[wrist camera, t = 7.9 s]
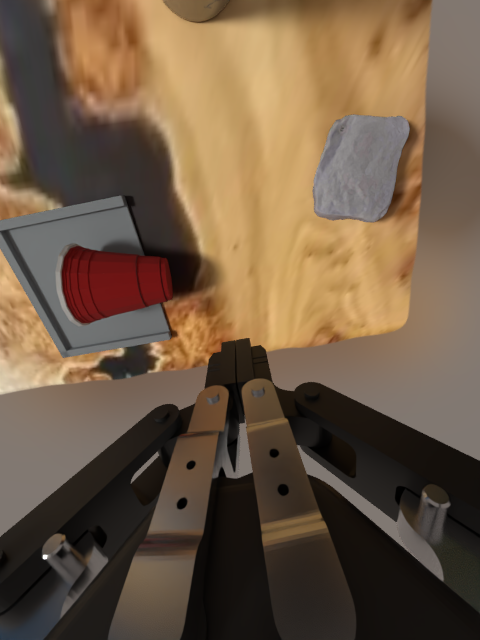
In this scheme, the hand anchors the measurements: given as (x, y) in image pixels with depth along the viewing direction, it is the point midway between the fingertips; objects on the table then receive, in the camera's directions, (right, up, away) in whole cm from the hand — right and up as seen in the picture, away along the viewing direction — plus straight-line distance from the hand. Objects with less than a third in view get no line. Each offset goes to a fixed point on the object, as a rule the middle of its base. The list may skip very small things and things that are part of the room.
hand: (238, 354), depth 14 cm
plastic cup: (-10, +8, +21) cm, 25 cm away
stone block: (+15, +22, +21) cm, 33 cm away
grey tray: (-23, +7, +26) cm, 35 cm away
